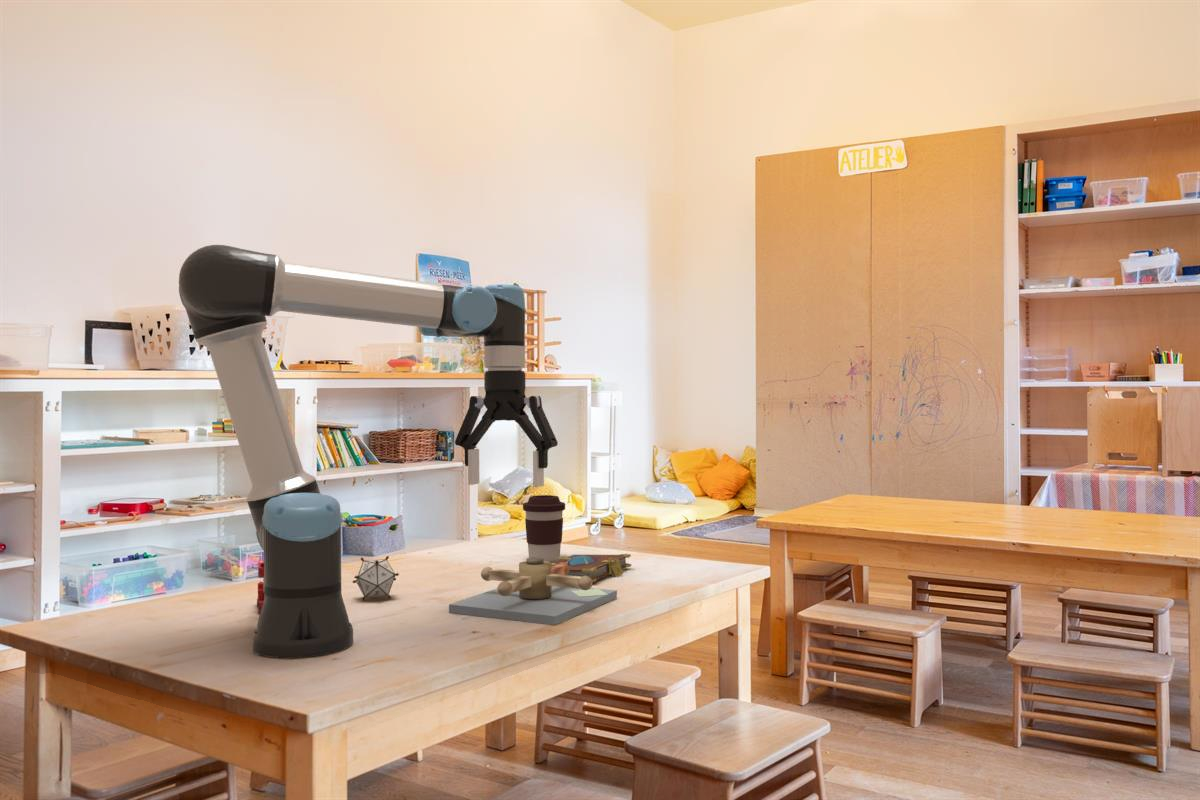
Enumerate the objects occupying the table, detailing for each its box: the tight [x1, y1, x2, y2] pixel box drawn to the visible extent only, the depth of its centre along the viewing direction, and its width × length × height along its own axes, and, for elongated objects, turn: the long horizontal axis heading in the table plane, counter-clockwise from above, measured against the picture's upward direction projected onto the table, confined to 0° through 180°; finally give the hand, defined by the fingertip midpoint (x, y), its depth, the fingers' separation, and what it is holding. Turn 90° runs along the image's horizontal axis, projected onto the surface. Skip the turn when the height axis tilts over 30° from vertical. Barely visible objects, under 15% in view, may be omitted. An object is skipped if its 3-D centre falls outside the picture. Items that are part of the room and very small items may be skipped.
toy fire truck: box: [256, 561, 264, 614], centre depth 181 cm, size 3×14×10 cm, turn 21°
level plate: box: [448, 586, 618, 626], centre depth 184 cm, size 24×22×3 cm
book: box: [551, 553, 633, 583], centre depth 213 cm, size 16×25×5 cm, turn 155°
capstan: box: [480, 557, 593, 599], centre depth 184 cm, size 24×24×7 cm
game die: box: [352, 555, 400, 602], centre depth 191 cm, size 9×8×10 cm
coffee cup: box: [522, 494, 566, 563], centre depth 233 cm, size 10×10×15 cm
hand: (505, 485), depth 182 cm, fingers open, 13 cm apart
